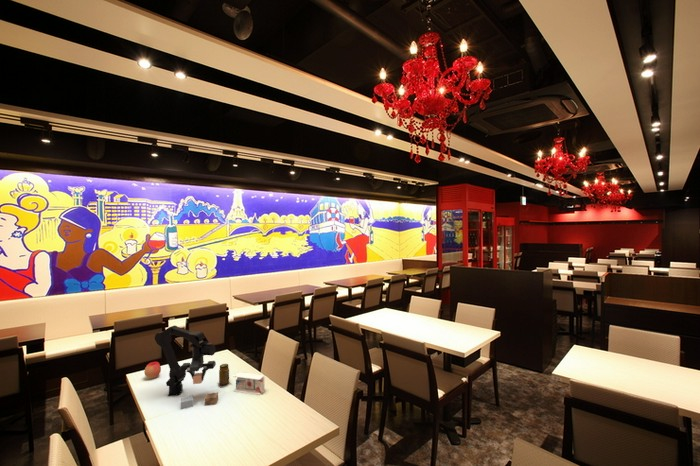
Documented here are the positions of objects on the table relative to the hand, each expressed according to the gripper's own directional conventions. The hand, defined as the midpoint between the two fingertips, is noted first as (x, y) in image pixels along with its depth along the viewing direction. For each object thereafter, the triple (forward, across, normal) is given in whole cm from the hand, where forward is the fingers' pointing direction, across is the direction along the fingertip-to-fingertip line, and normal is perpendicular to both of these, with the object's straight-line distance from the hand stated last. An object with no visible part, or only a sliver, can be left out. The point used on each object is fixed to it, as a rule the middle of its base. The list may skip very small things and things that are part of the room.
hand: (198, 380), depth 186 cm
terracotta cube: (+1, 0, 0) cm, 1 cm away
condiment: (+10, +12, +13) cm, 20 cm away
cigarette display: (+10, +30, +1) cm, 31 cm away
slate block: (+10, -3, -10) cm, 14 cm away
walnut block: (+10, +10, -9) cm, 16 cm away
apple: (+10, -39, +32) cm, 52 cm away
